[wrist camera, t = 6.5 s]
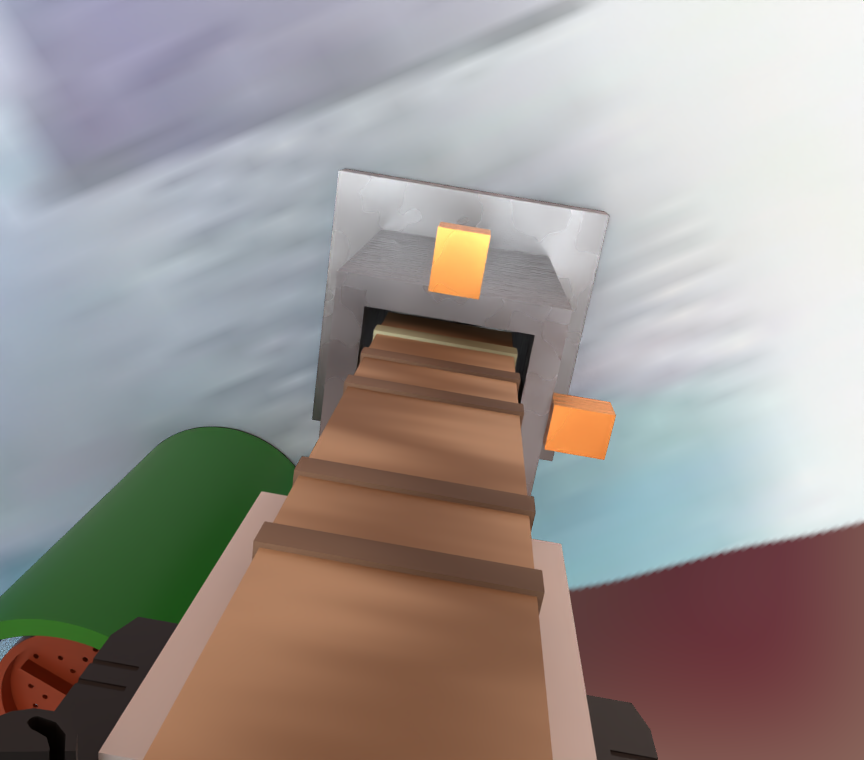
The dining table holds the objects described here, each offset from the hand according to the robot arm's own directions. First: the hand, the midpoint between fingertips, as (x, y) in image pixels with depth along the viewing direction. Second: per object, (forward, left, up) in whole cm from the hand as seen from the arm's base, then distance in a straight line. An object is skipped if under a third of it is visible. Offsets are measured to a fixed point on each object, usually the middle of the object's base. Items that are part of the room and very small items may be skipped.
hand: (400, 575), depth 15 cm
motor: (-10, -12, -22) cm, 27 cm away
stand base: (0, 0, -22) cm, 22 cm away
